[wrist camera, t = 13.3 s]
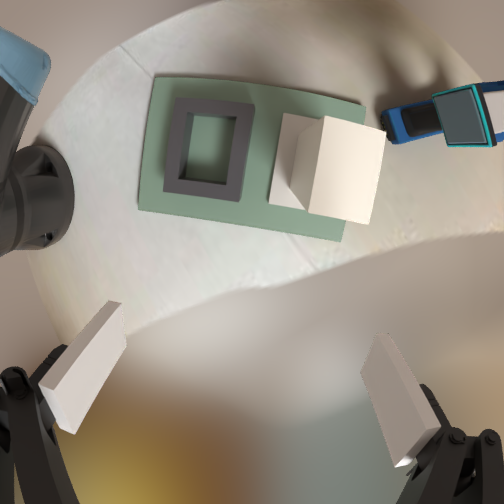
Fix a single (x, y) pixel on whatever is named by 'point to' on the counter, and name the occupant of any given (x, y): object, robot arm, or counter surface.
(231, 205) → the green socket board
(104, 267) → the counter surface
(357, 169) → the plug
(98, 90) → the counter surface
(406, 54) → the counter surface
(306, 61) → the counter surface
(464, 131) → the handheld scanner
